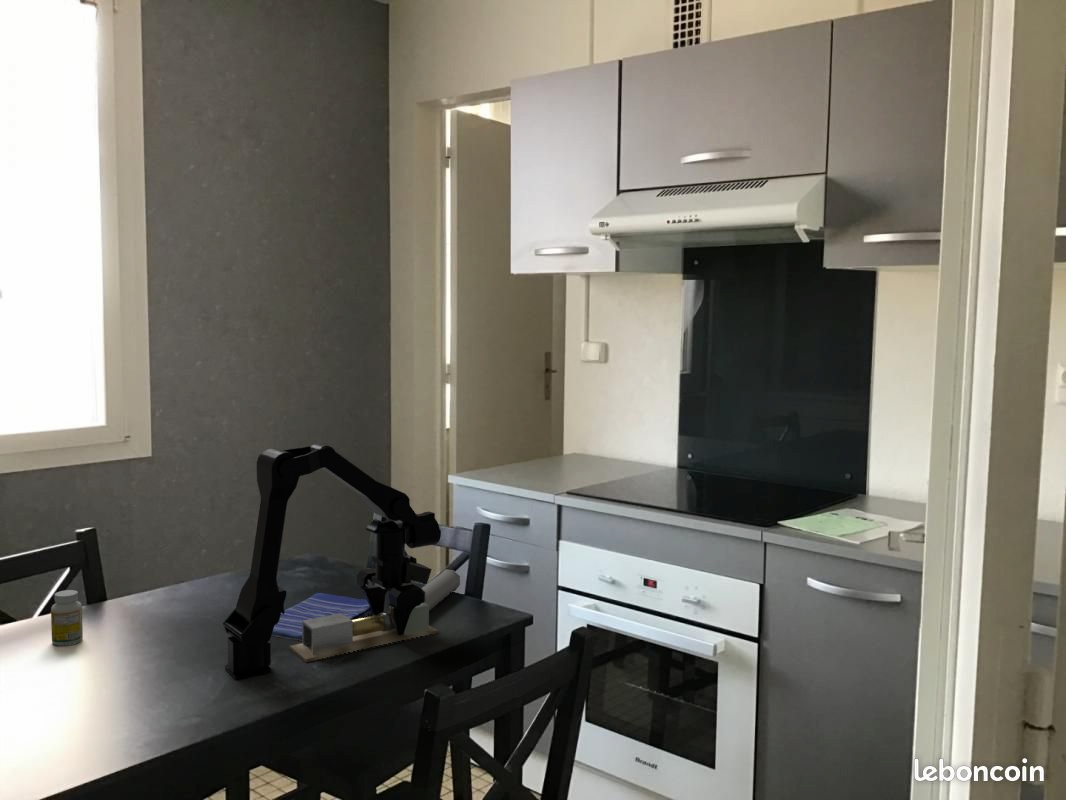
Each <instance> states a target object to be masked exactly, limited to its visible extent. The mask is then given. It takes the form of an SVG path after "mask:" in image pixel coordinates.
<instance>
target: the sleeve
mask: <svg viewBox="0 0 1066 800" xmlns="http://www.w3.org/2000/svg"><path fill="white" fill-rule="evenodd" d="M301 643H302V646H303V647H304V648H305V649H307V650H308V651H309V652H310V653H312V654H313V655H314V654H318V653H323V652H327V651H332V650H337V649H341V648H346V647H350V646H353V621H352V620H351V619H349V618H348V617H346V616H345V615H343V614H342V613H340V614H334V615H329V616H324V617H319V618H314V619H308V620H303V621H302V641H301Z"/></svg>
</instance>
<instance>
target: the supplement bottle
mask: <svg viewBox="0 0 1066 800" xmlns="http://www.w3.org/2000/svg"><path fill="white" fill-rule="evenodd" d="M78 599H79V592H78V591H77V590H72V589H67V590H66V589H65V590H61V591H58V592H55V593H54V602H55V603H54V604H52V606H51V608H50V621H51V625H50V627H51V628H50V629H51V643H52V644H53V645H55V646H58V647H64V646H72V645H76V644H78V643H80V642H81V641H82V640H83V638H84V636H83V634H84V633H83V627H84V626H83V605H82V603H81V602H80V601H78Z"/></svg>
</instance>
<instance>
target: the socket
mask: <svg viewBox="0 0 1066 800" xmlns="http://www.w3.org/2000/svg"><path fill="white" fill-rule="evenodd" d="M429 619H430V611H429V605H427V604H426V603H421V605H419V606H416V607H415V608H414V609H413V610H412V612H411V614H410V617H409V619H408V622H407V625H406V628H405V631H404V634H403V635H404V636H405V635H409V634H414V633H419V632H423V631H428V630H429V626H430V620H429ZM395 630H396V629H395Z"/></svg>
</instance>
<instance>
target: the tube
mask: <svg viewBox="0 0 1066 800" xmlns="http://www.w3.org/2000/svg"><path fill="white" fill-rule="evenodd" d="M460 585H461V576H460V575H459V574H458V573H457V572H456V571H455V570H452V569H446V568H445V569H443V571H442V572H441V573H440V574H438V575H437V576H436V577H435V578H432V580H431V581H428V583H427V584H424V586H422V587H420V588H421V589H422V590H423V591H425V602H424V603H426V604H427V605H429V612H430V611H432V609H434V608H435V607H436V606H437V605H438V604H440V603H441V602H442V601H443V600H444V598H445V597H446V598H447V597H448V596H450V595H451V594H452V593H453V592H455V591H457V589H458V588H459V587H460ZM450 592H451V594H450ZM446 598H445V599H446ZM439 602H440V603H439Z"/></svg>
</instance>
